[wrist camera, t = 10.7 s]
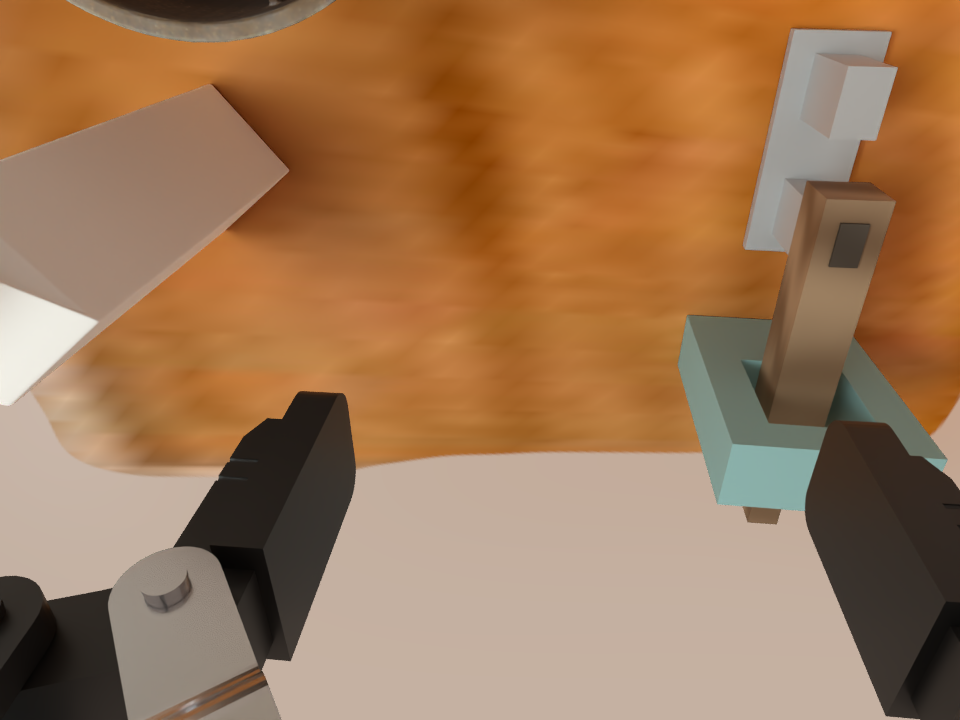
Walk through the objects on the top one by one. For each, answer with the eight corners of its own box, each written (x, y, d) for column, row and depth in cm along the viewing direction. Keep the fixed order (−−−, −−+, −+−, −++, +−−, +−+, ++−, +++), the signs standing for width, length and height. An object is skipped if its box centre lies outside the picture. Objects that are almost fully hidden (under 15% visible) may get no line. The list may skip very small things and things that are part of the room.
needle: (806, 180, 31) (828, 200, 29) (870, 182, 31) (897, 202, 29) (728, 495, 41) (739, 530, 39) (777, 498, 41) (791, 534, 38)
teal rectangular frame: (687, 315, 41) (732, 444, 30) (843, 323, 40) (947, 459, 29) (677, 365, 43) (717, 504, 32) (827, 374, 42) (919, 520, 31)
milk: (291, 169, 39) (44, 374, 20) (224, 231, 41) (-54, 466, 22) (209, 80, 37) (-154, 213, 18) (143, 150, 39) (-239, 334, 20)
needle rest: (791, 28, 33) (825, 39, 29) (886, 30, 32) (936, 42, 28) (742, 245, 38) (765, 282, 34) (823, 249, 38) (857, 287, 34)
